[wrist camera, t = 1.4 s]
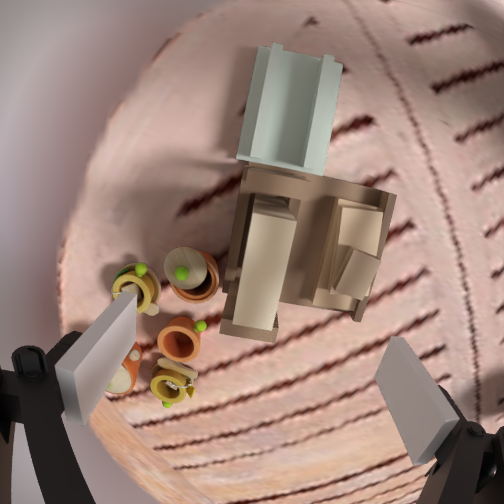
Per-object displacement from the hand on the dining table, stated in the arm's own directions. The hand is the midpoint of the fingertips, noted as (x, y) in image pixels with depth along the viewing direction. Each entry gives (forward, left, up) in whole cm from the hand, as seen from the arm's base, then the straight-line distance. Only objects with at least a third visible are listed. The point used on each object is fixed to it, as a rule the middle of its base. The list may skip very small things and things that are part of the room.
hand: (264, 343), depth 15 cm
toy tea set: (+12, +15, -25) cm, 31 cm away
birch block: (0, 0, -23) cm, 23 cm away
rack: (-6, 0, -25) cm, 25 cm away
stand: (-1, -15, -25) cm, 29 cm away
